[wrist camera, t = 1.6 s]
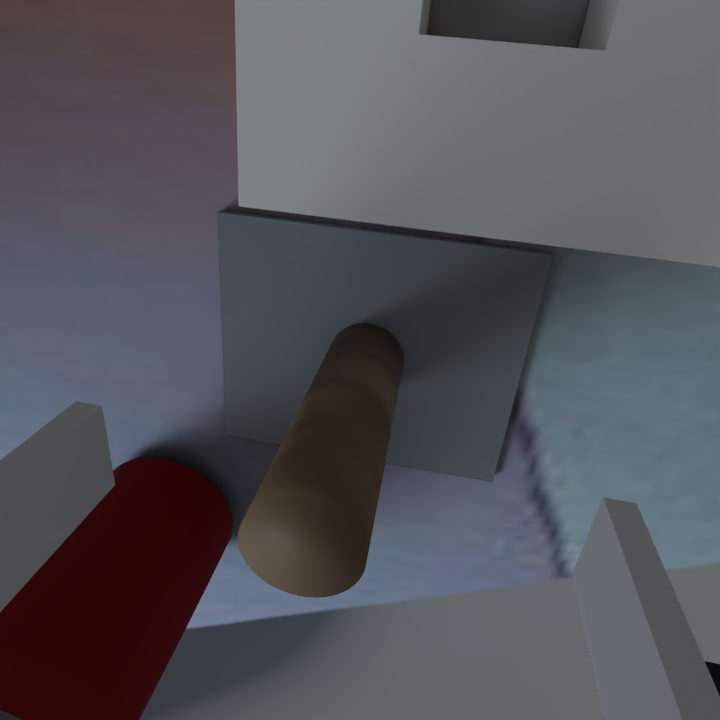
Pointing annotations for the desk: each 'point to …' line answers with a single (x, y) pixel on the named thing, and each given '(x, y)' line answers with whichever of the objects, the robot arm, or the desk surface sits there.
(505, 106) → the hole block
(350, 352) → the peg
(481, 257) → the mat
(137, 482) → the beverage can
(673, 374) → the desk surface
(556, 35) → the desk surface
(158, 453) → the desk surface
